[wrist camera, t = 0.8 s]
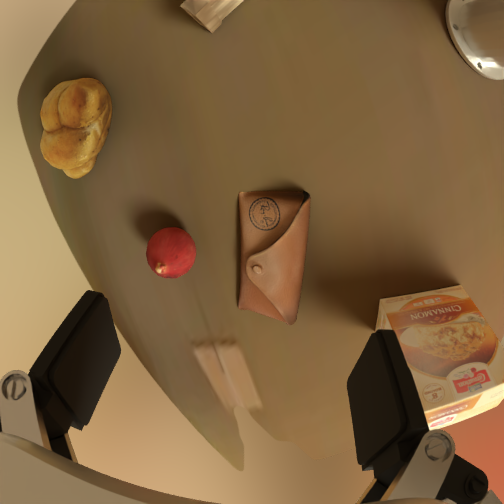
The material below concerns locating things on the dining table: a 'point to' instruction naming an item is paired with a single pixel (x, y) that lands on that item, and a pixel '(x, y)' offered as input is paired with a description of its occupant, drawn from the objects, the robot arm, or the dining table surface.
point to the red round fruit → (171, 252)
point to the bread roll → (75, 125)
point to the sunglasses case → (273, 251)
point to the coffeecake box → (447, 352)
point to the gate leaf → (209, 11)
